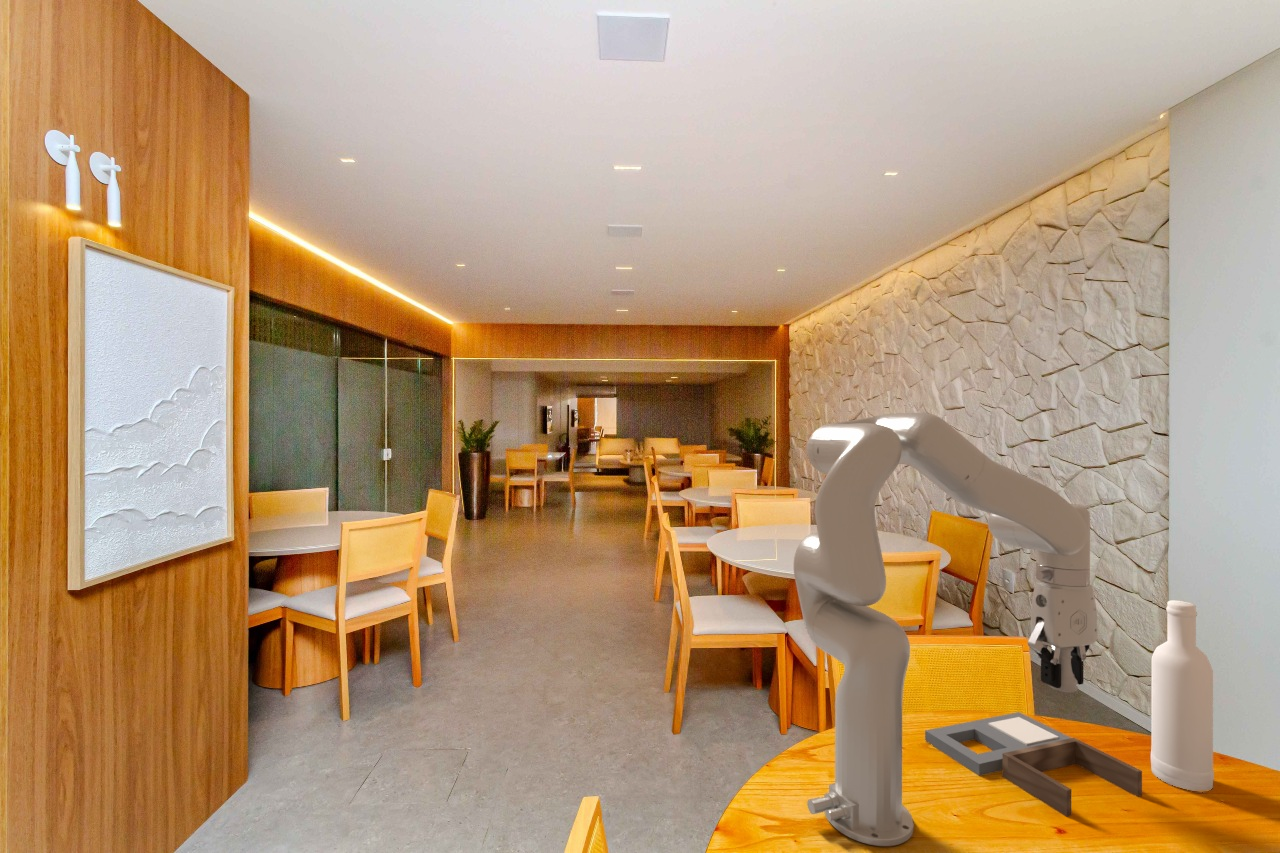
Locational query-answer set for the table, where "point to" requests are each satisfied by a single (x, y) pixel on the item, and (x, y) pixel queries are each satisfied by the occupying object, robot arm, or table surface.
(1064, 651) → the rook chess piece
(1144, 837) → the table surface
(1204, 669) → the bottle
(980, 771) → the hole board
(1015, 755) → the walnut pen
